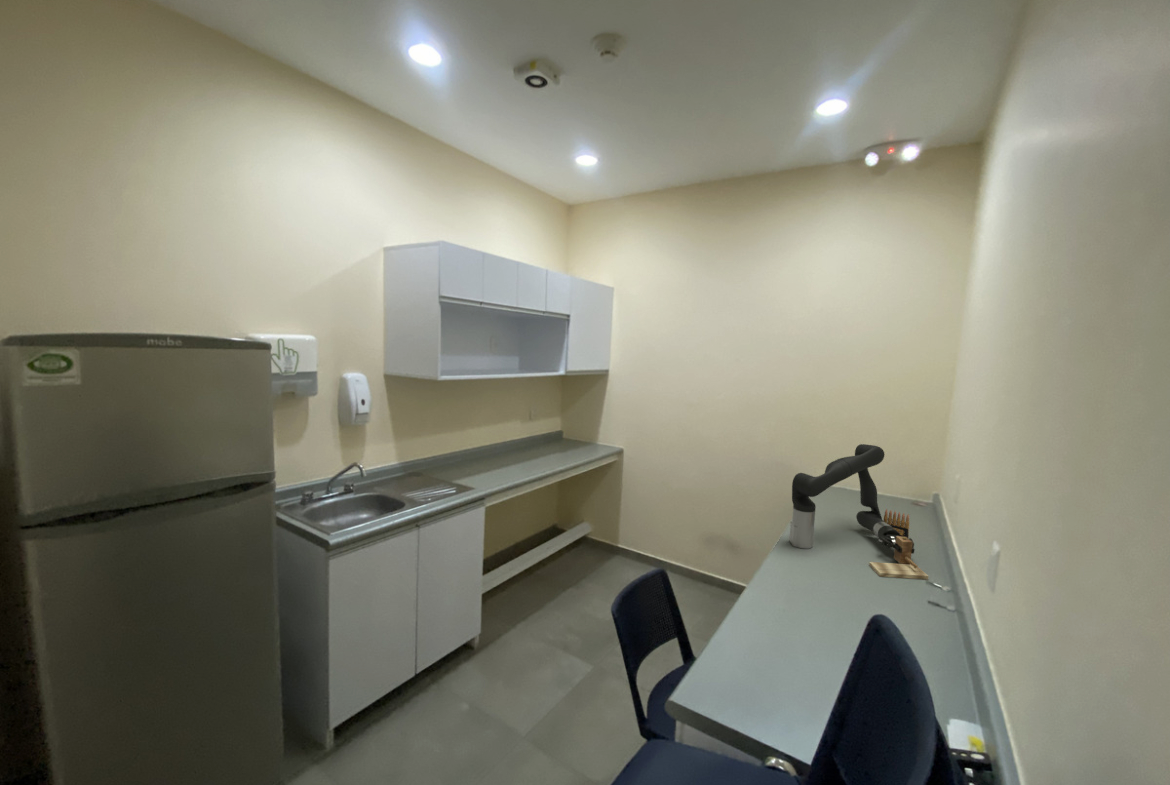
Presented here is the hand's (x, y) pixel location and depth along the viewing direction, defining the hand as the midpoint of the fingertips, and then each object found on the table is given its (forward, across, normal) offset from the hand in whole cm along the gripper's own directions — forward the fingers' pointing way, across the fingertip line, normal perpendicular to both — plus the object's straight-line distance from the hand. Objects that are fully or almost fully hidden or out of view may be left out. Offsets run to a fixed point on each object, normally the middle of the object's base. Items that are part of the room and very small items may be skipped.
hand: (907, 551), depth 195 cm
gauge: (+1, 0, +6) cm, 6 cm away
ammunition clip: (-32, +12, +7) cm, 34 cm away
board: (+5, -6, +7) cm, 10 cm away
